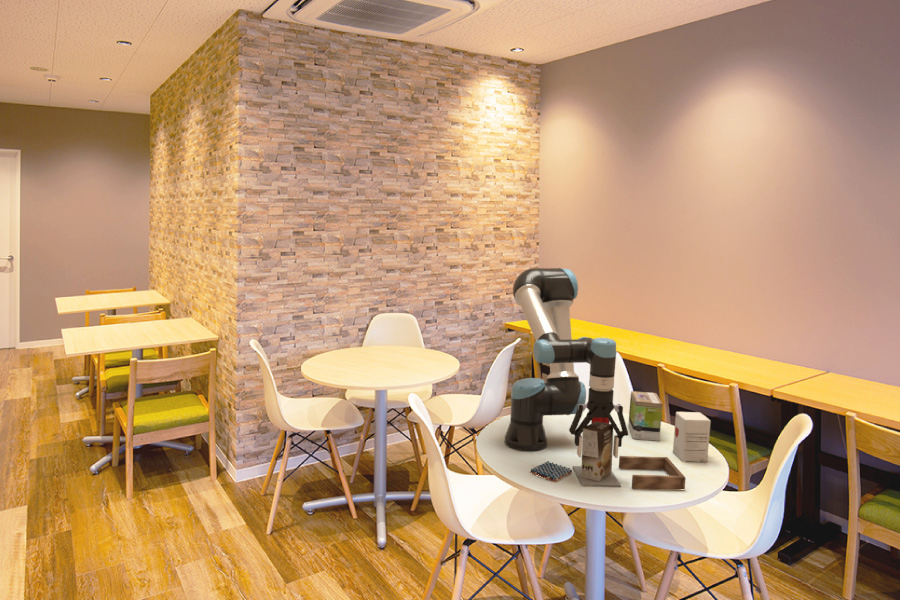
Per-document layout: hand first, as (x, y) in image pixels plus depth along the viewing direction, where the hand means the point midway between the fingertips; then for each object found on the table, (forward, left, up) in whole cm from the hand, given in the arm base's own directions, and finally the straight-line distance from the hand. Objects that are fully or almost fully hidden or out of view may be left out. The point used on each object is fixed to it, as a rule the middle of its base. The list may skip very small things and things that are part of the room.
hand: (597, 455), depth 198 cm
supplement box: (+37, +19, -7) cm, 42 cm away
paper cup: (+9, +34, -7) cm, 36 cm away
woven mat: (-14, +2, -8) cm, 16 cm away
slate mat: (0, 0, -7) cm, 7 cm away
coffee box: (0, 0, -7) cm, 7 cm away
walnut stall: (+17, 0, -7) cm, 19 cm away
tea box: (+28, +42, -7) cm, 51 cm away
